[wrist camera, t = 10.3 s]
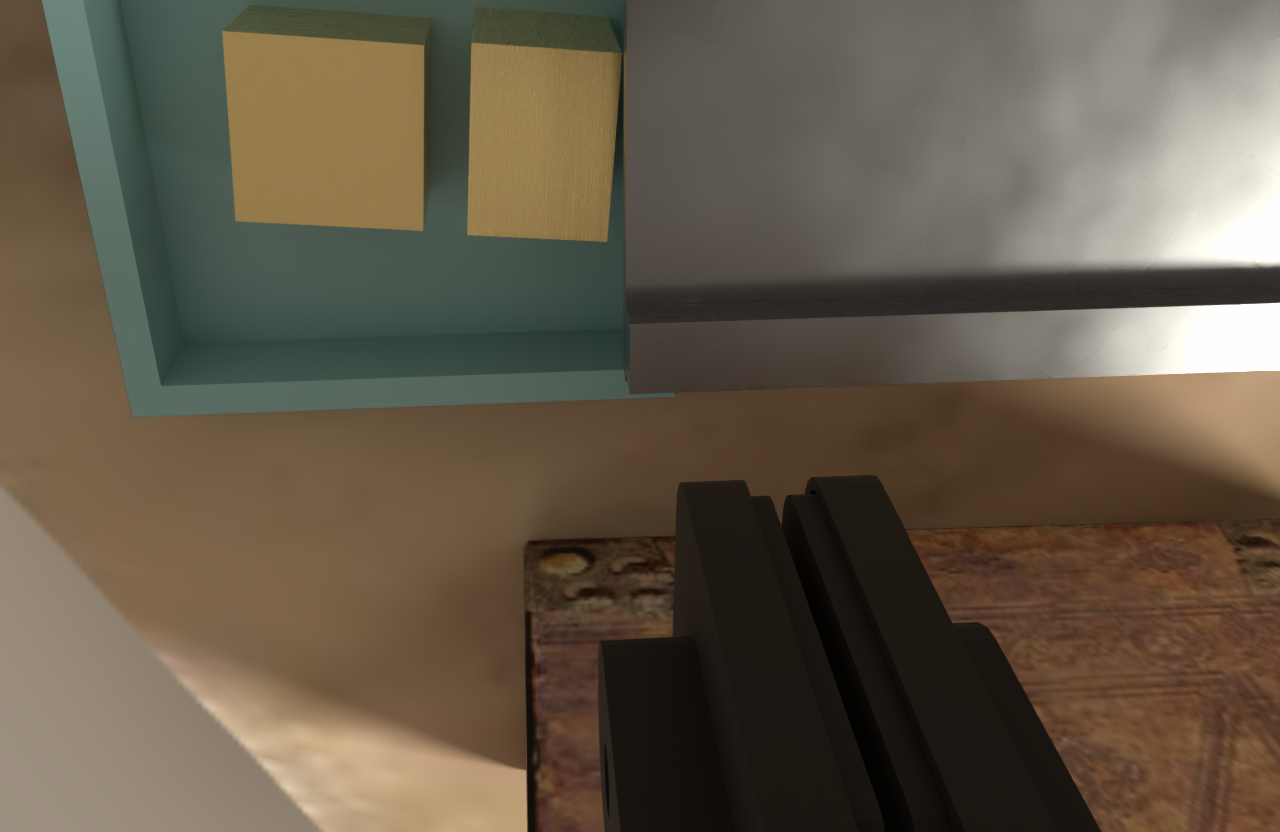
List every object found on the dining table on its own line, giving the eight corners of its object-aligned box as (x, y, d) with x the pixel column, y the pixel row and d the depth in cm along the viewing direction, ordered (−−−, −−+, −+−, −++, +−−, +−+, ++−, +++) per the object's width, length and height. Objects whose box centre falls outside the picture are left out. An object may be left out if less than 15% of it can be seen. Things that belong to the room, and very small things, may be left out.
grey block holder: (602, -145, 27) (632, -117, 21) (1329, -144, 28) (1557, -116, 22) (605, 277, 31) (629, 402, 25) (1227, 259, 33) (1391, 373, 27)
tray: (41, -255, 25) (-14, -257, 22) (672, -248, 26) (691, -249, 23) (163, 362, 31) (132, 417, 29) (661, 345, 33) (675, 397, 30)
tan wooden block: (607, 16, 28) (475, 6, 27) (622, 52, 24) (471, 42, 24) (595, 185, 30) (471, 178, 29) (607, 242, 26) (467, 234, 26)
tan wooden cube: (424, 45, 25) (432, 18, 27) (221, 30, 24) (249, 4, 27) (423, 230, 27) (430, 188, 29) (235, 221, 26) (259, 179, 29)
